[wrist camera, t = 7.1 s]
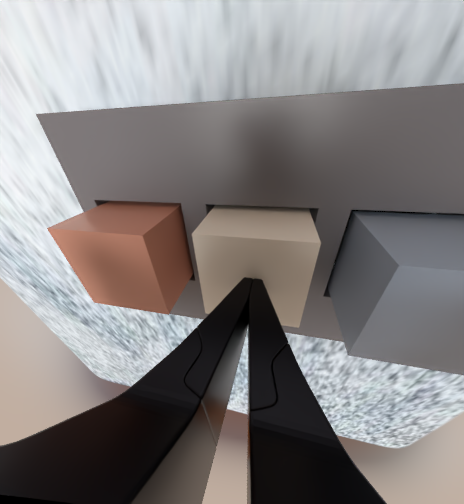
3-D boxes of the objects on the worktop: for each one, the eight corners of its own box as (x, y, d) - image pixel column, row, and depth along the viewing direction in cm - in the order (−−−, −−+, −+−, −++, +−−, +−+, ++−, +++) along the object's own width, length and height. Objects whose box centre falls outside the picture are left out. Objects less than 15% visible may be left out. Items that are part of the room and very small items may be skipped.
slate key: (478, 216, 8) (631, 285, 5) (420, 296, 11) (487, 379, 7) (352, 211, 9) (399, 265, 6) (327, 286, 12) (348, 355, 8)
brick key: (185, 201, 11) (142, 235, 8) (196, 266, 14) (168, 314, 11) (114, 198, 12) (47, 228, 9) (138, 260, 15) (94, 302, 11)
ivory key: (306, 202, 10) (320, 242, 7) (293, 272, 13) (298, 327, 10) (219, 200, 11) (191, 234, 8) (224, 265, 14) (205, 313, 11)
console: (551, 86, 7) (684, 67, 5) (394, 316, 15) (417, 353, 13) (87, 116, 12) (36, 114, 9) (149, 284, 19) (130, 307, 17)
